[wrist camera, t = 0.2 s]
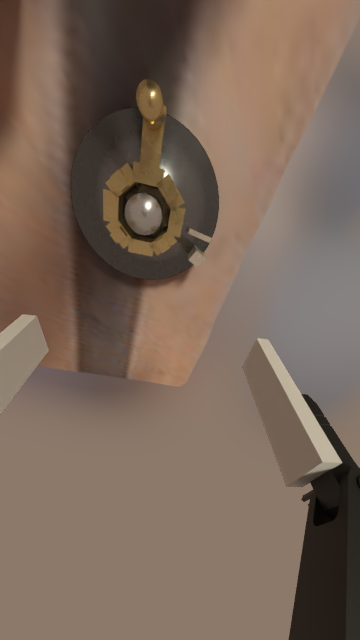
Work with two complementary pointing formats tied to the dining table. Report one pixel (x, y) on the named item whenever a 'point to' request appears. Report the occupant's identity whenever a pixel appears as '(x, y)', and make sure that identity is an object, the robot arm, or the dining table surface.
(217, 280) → the dining table surface
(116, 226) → the brass lugged wrench
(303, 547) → the robot arm
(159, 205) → the bearing cap
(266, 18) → the dining table surface
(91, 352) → the dining table surface
